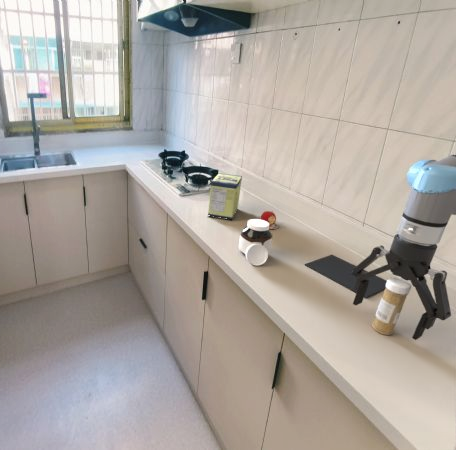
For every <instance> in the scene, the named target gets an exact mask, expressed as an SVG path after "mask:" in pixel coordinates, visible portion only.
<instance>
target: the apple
mask: <svg viewBox="0 0 456 450" xmlns="http://www.w3.org/2000/svg"><path fill="white" fill-rule="evenodd" d="M260 219H261V220H264V221H267V222H268V223H269V230H276V229H278V227H279V226H278V224H277V223H276V221H277V216H276V213H275V212H273V210H271V211H270V210H266V211H264V212H262V213H261V216H260Z"/></svg>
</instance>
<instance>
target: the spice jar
mask: <svg viewBox="0 0 456 450" xmlns="http://www.w3.org/2000/svg"><path fill="white" fill-rule="evenodd" d="M411 289H412V283H411V282H408V281H407V280H404V279H403V278H401V277H397V276H393V277H392V276H390V277H388V278H387V282H386V288H385V290H383V293H382V296H381V298H380V301H379V302H378V303H379V304H378V306H377V308H376V311H375V315H374V318H373V321H372V323H371V327H372V329H373V330H374V331H375V332H377V333H379V334H381V335H385V336H391V335H393V334H394V332H395V331H394V330H395V327H396V325H397V323H398V321H399V318H400V316H401V313H402V310H403V308H404V307H403V306H404V304H405V301H406V299H407V296H408V295H409V294H410V292H411Z"/></svg>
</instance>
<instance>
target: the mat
mask: <svg viewBox="0 0 456 450" xmlns="http://www.w3.org/2000/svg"><path fill="white" fill-rule="evenodd" d="M304 266H305V267H307V268H309V269H311V270H313V271H314V272H316V273H318V274H320V275H321V276H324V277H325V278H327V279H329V280H331V281H333V282H334V283H336V284H339V286H342V287H344V288H346V289H347V290H350V291H352V293H355V294H356V293H357V291H355V290H354V287H355V284H356V281H357V278H356V277H355V276H354V275H352V274H351V273H350V272H351V270H353V269H354V268H355V267H356V266H357V265H355V264H353V263H351V262H349V261H347V260H345V259H342V258H341V257H339V256H336V255H334V254H328V255H326V256H323V257H321V258H317V259H314V260H312V261H309V262H307V263H304ZM361 272H362V273H363V274H364V273H367V272H369V271H367V270H366V269H364V270H363V271H361ZM365 280H366V279H365ZM367 280H369V284H368V287H367V290H366V292H365V295H364V298H363V299H368V298H370V297H372V296H375V295H377V294H378V293H381V292H384V291H385V288H386V282H387V280H388V279H387V280H386V279H385V278H383V277H380V276H378V275H374V276H372V277H369V278H367Z"/></svg>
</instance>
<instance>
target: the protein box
mask: <svg viewBox="0 0 456 450" xmlns="http://www.w3.org/2000/svg"><path fill="white" fill-rule="evenodd" d="M242 180H243V176H242V175H235V174H228V173H222V172H221V173H220V172H219V173H218V174H217V175H216V176H214V178H213V179H212V181H210V189H209V191H210V192H209V201H208V211H207V213H208V214H207V216H208V215H210V216H214V217H221V218H227V219H232V218H233V219H234V217H235V215H236V213H237V211H238V209H237V208H239V202H240V193H241V187H242ZM236 210H237V211H236ZM235 212H236V213H235ZM234 214H235V215H234ZM233 216H234V217H233ZM214 217H213V218H214ZM233 219H232V220H233Z"/></svg>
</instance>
